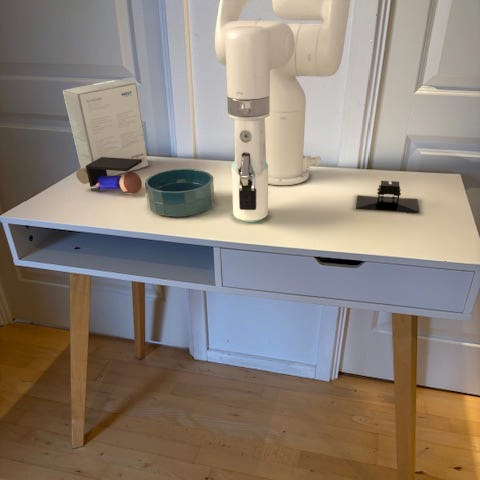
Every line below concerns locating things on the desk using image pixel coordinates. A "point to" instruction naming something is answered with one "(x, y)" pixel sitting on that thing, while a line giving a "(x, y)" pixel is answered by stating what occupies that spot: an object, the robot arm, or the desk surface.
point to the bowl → (180, 192)
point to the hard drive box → (106, 122)
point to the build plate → (388, 200)
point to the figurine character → (98, 176)
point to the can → (261, 196)
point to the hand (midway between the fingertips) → (250, 200)
